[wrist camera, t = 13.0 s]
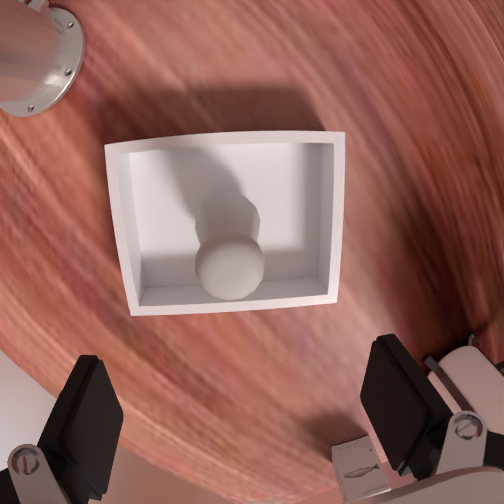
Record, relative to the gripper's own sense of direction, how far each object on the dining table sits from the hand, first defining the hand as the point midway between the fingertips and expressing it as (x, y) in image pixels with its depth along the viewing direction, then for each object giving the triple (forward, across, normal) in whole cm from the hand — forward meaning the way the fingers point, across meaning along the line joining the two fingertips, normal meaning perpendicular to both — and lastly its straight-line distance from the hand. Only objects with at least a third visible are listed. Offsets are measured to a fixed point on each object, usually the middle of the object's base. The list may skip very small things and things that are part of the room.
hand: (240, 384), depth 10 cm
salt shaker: (+22, 0, 0) cm, 22 cm away
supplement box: (+23, -19, +44) cm, 53 cm away
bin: (+23, 0, 0) cm, 23 cm away
